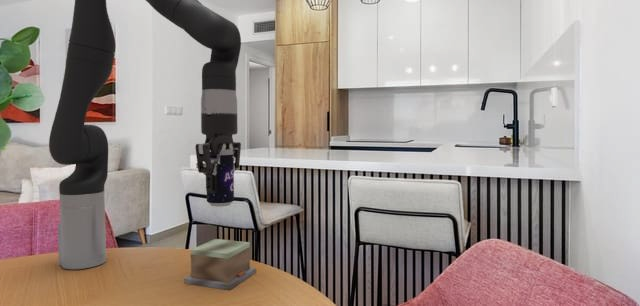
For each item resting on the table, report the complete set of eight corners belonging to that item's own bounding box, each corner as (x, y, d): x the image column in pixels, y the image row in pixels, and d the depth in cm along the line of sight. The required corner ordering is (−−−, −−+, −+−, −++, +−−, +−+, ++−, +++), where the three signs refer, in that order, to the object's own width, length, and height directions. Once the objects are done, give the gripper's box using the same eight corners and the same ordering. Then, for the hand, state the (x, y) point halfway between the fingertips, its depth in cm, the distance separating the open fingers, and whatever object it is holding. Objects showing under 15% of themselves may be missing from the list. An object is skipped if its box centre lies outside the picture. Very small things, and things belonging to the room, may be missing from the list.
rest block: (184, 283, 85) (183, 250, 85) (214, 266, 95) (213, 237, 95) (229, 290, 81) (229, 255, 81) (256, 272, 92) (255, 241, 91)
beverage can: (227, 207, 84) (226, 149, 84) (202, 206, 85) (201, 149, 85) (238, 202, 90) (237, 148, 89) (214, 201, 91) (213, 148, 90)
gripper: (222, 113, 94) (223, 186, 95) (182, 110, 81) (184, 195, 82) (251, 113, 92) (251, 187, 93) (215, 110, 78) (216, 197, 79)
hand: (220, 190), depth 87 cm, fingers closed on beverage can, 5 cm apart
